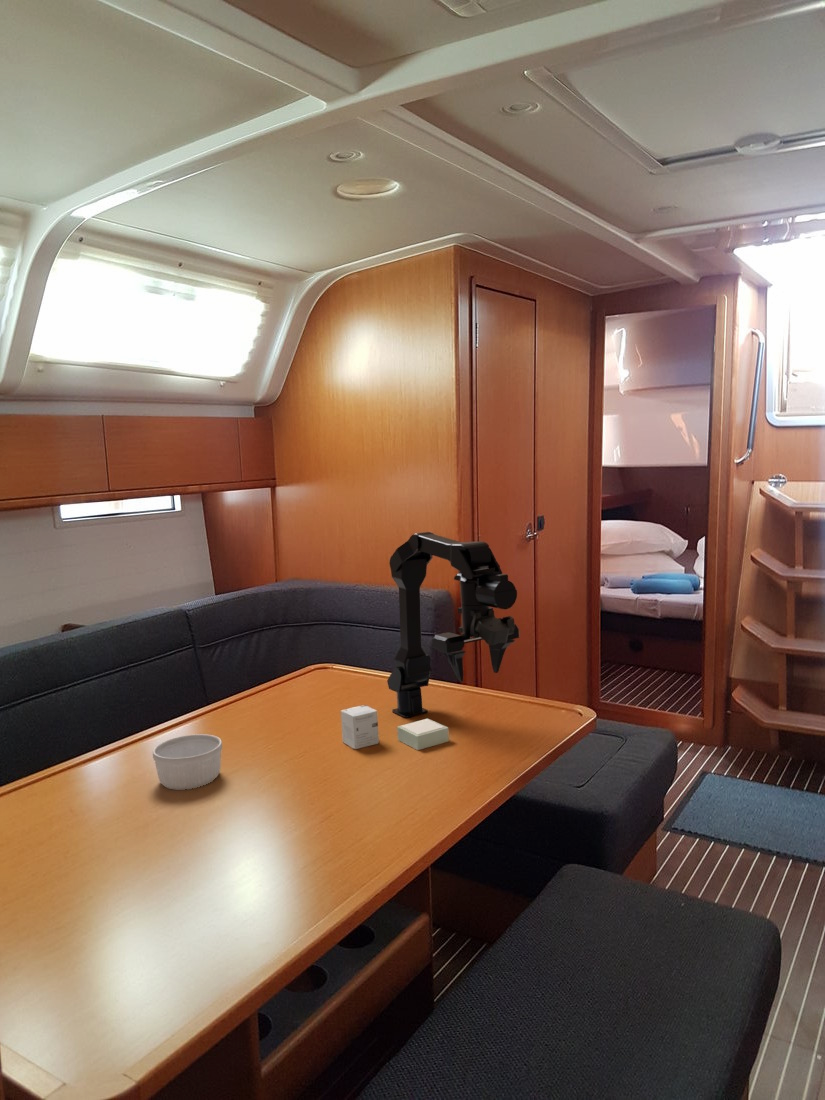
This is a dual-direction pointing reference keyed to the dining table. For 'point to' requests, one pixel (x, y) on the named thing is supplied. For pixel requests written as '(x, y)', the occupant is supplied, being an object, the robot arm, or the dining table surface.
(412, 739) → the base block
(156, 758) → the ramekin
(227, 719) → the dining table surface
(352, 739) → the skincare box
